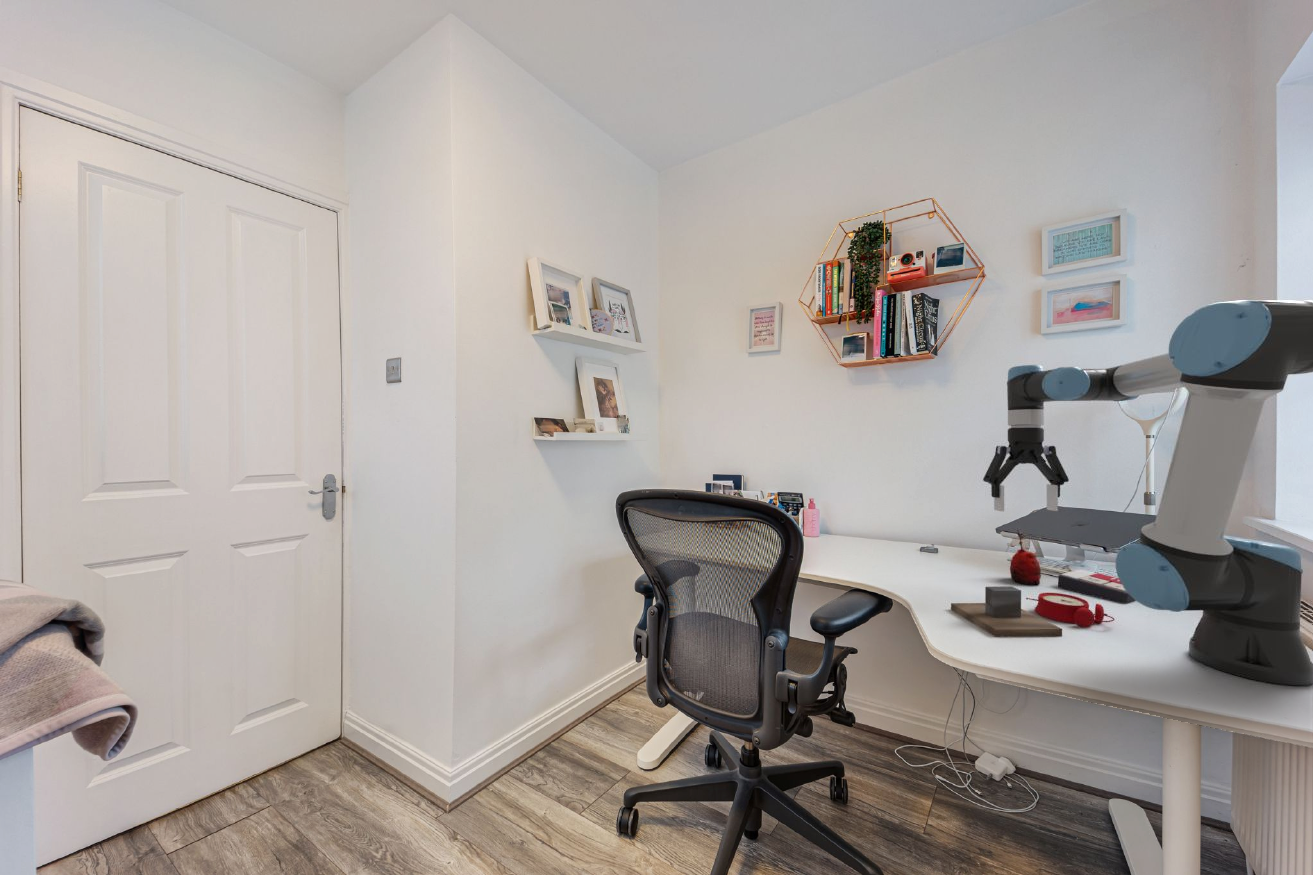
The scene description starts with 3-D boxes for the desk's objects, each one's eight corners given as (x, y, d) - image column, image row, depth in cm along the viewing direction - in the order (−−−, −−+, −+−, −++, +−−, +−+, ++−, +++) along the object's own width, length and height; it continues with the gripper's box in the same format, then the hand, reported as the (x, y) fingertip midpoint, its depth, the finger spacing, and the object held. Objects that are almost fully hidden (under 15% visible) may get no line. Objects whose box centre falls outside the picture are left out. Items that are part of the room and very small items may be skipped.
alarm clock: (1045, 589, 128) (1118, 593, 115) (1051, 616, 127) (1126, 622, 114) (1020, 595, 123) (1093, 600, 110) (1026, 623, 122) (1101, 631, 109)
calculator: (1127, 590, 127) (1058, 572, 141) (1126, 607, 128) (1056, 587, 141) (1148, 584, 132) (1079, 567, 146) (1147, 600, 133) (1078, 582, 146)
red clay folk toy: (1047, 585, 142) (1048, 531, 142) (1024, 586, 141) (1025, 532, 141) (1024, 577, 150) (1025, 525, 150) (1002, 578, 149) (1003, 526, 149)
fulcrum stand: (1062, 635, 108) (1062, 600, 108) (995, 636, 108) (995, 600, 108) (1009, 608, 124) (1009, 577, 124) (951, 609, 124) (951, 578, 124)
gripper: (1062, 427, 136) (1062, 508, 136) (967, 427, 136) (968, 508, 136) (1086, 426, 129) (1086, 512, 129) (986, 426, 128) (986, 512, 128)
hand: (1025, 510), depth 132 cm, fingers open, 13 cm apart
